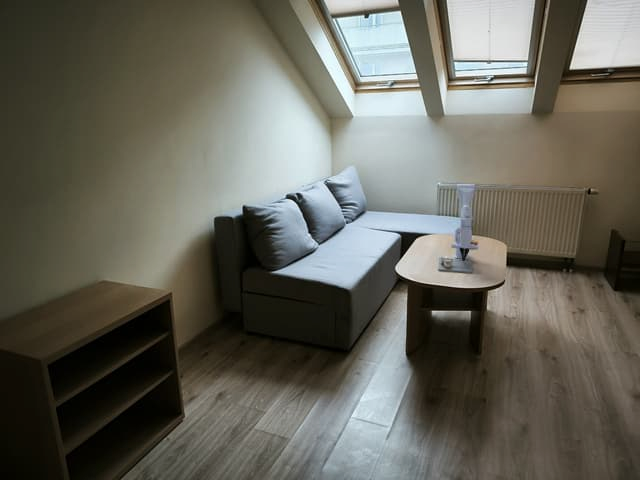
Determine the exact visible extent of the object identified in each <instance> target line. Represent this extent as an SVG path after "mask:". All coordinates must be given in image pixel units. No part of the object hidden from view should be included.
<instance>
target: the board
mask: <svg viewBox="0 0 640 480" xmlns="http://www.w3.org/2000/svg"><path fill="white" fill-rule="evenodd" d="M444 265H445V260H444ZM444 265H441V257H438V267H437V268H438V270H437V271H439V272H447V273H448V272H449V273H460V274H461V273H463V274H473V267H472V266H473V265H472V259H465V261H462V258H453V260H451V268H445V267H444Z"/></svg>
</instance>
